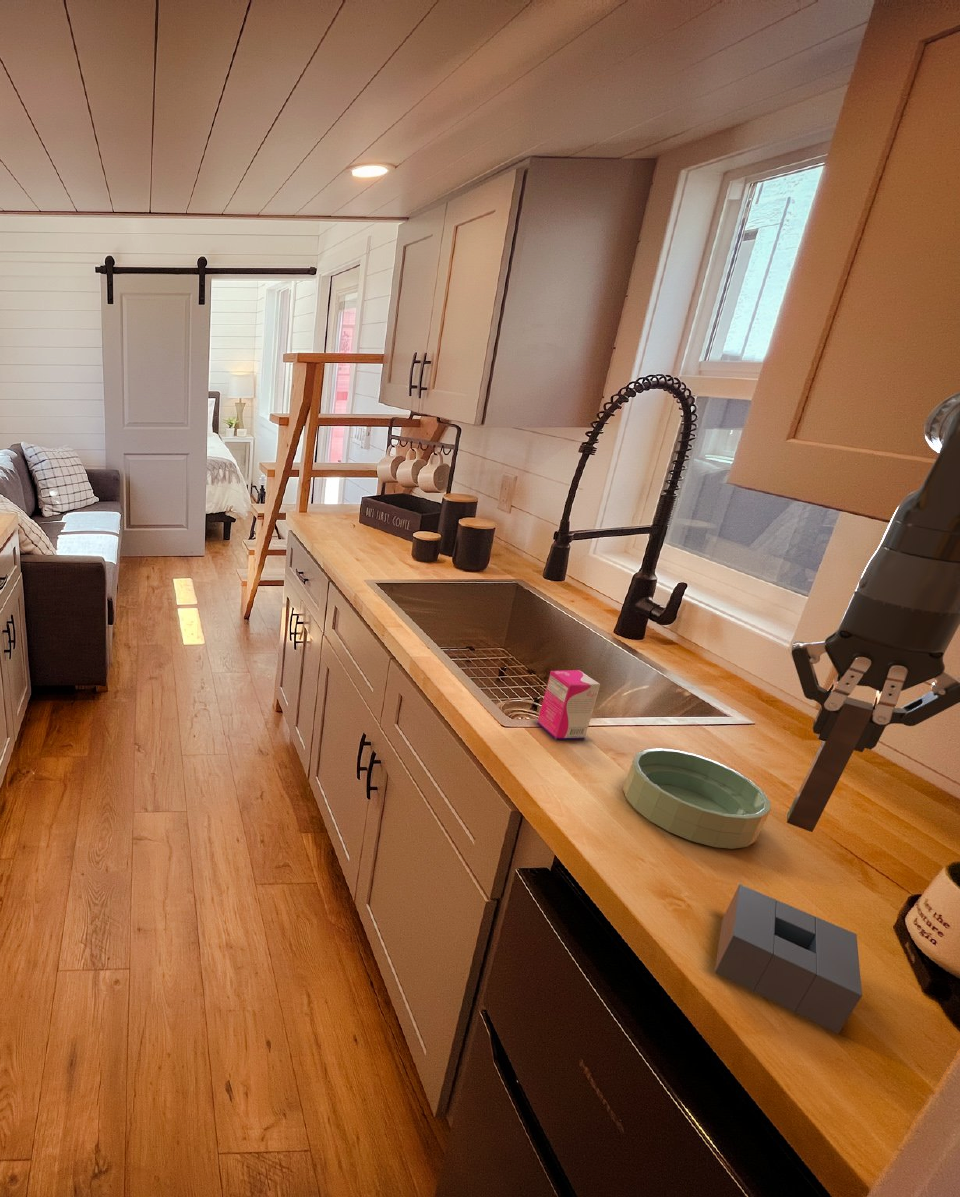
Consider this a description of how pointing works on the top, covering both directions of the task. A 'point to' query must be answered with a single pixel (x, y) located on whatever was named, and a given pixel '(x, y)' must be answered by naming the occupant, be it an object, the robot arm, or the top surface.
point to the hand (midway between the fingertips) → (839, 742)
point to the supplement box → (568, 704)
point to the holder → (790, 958)
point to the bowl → (696, 798)
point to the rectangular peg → (829, 764)
